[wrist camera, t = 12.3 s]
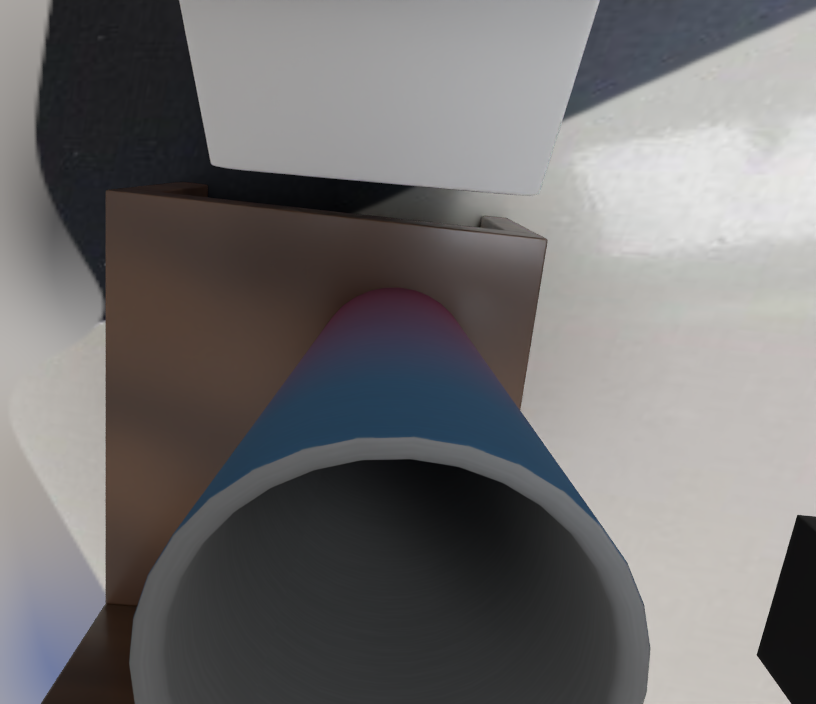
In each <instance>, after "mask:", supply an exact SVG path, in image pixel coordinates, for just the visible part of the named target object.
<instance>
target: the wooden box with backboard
mask: <svg viewBox="0 0 816 704" xmlns="http://www.w3.org/2000/svg"><path fill="white" fill-rule="evenodd" d="M546 247H547V239H546V238H544V237H542V236H540V235H538V234H536V233H534V232H532V231H530V230H528V229H526V228H525V227H523V226H521V225H519V224H517V223H515V222H513V221H512V220H510V219H508V218H500V217H491V216H482V219H481V226H480V228H478V227H469V226H460V225H451V224H442V223H433V222H424V221H415V220H406V219H397V218H388V217H379V216H370V215H361V214H352V213H343V212H334V211H325V210H316V209H307V208H298V207H289V206H280V205H271V204H262V203H253V202H244V201H235V200H226V199H217V198H208V185H206V184H197V183H188V182H175V183H166V184H157V185H148V186H140V187H131V188H120V189H112V190H106V604H105V606H104V607H103V608H102V610H101V612H100V613H99V615H98V616H97V618H96V619H95V621H94V623H93V624H92V626H91V627H90V629H89V630H88V632H87V633H86V635H85V636H84V638H83V639H82V641H81V643H80V644H79V645H78V647H77V649H76V650H75V652H74V653H73V655H72V656H71V658H70V659H69V661H68V663H67V664H66V666H65V667H64V669H63V670H62V672H61V674H60V675H59V677H58V678H57V679H56V681H55V683H54V684H53V686H52V687H51V689H50V690H49V692H48V693H47V695H46V696H45V698H44V700H43V701H42V703H41V704H135V701H134V694H133V687H132V680H131V673H130V665H129V658H130V647H131V637H132V626H133V617H134V614H135V611H136V608H137V605H138V602H139V599H140V597H141V594H142V591H143V588H144V585H145V582H146V579H147V576H148V574H149V572H150V570H151V569H152V567H153V566H154V564H155V562H156V561H157V559H158V558H159V556H160V554H161V553H162V551H163V550H164V548H165V546H166V545H167V543H168V542H169V540H170V538H171V537H172V535H173V534H174V532H175V531H176V529H177V528H178V527H179V525H180V524H181V523H182V521H183V520H184V519H185V517H186V516H187V515H188V513H189V512H190V510H191V509H192V508H193V506H194V505H195V504H196V502H197V501H198V500H199V498H200V497H201V495H202V494H203V493H204V491H205V490H206V489H207V487H208V486H209V485H210V483H211V482H212V480H213V479H214V478H215V476H216V475H217V474H218V472H219V471H220V470H221V468H222V467H223V465H224V464H225V463H226V461H227V460H228V459H229V457H230V456H231V455H232V453H233V452H234V450H235V449H236V448H237V446H238V445H239V444H240V442H241V441H242V440H243V438H244V437H245V435H246V434H247V433H248V431H249V430H250V429H251V427H252V426H253V425H254V423H255V422H256V420H257V419H258V418H259V416H260V415H261V414H262V412H263V411H264V410H265V408H266V407H267V405H268V404H269V403H270V401H271V400H272V399H273V397H274V396H275V395H276V393H277V392H278V390H279V389H280V388H281V386H282V385H283V384H284V382H285V381H286V380H287V378H288V377H289V375H290V374H291V373H292V371H293V370H294V369H295V367H296V366H297V365H298V363H299V362H300V360H301V359H302V358H303V356H304V355H305V354H306V352H307V351H308V350H309V348H310V347H311V345H312V344H313V343H314V341H315V340H316V339H317V337H318V336H319V335H320V333H321V332H322V330H323V329H324V328H325V326H326V325H327V324H328V322H329V321H330V320H331V318H332V317H333V316H334V315H335V314H336V313H337V311H338V310H339V309H340V308H341V307H342V306H343V305H345V304H346V303H348V302H349V301H350V300H352V299H353V298H355V297H357V296H359V295H361V294H364V293H366V292H368V291H372V290H376V289H381V288H405V289H410V290H415V291H418V292H420V293H423V294H425V295H428V296H430V297H431V298H433V299H434V300H436V301H437V302H439V303H441V304H442V305H443V306H444V307H445V308H446V309H447V310H448V311H449V312H450V313H451V314H452V315H453V317H454V318H455V319H456V321H457V322H458V324H459V325H460V327H461V328H462V329H463V331H464V332H465V334H466V335H467V336H468V338H469V339H470V341H471V342H472V343H473V345H474V346H475V348H476V349H477V351H478V352H479V353H480V355H481V356H482V358H483V359H484V360H485V362H486V363H487V365H488V366H489V367H490V369H491V370H492V372H493V373H494V375H495V376H496V377H497V379H498V380H499V382H500V383H501V384H502V386H503V387H504V389H505V390H506V391H507V393H508V394H509V396H510V397H511V398H512V400H513V401H514V403H515V404H516V406H517V407H518V408H519V410H520V408H521V402H522V396H523V389H524V383H525V377H526V371H527V365H528V358H529V352H530V346H531V340H532V334H533V327H534V321H535V315H536V309H537V303H538V297H539V290H540V284H541V278H542V272H543V266H544V259H545V253H546Z"/></svg>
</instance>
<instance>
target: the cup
mask: <svg viewBox="0 0 816 704" xmlns="http://www.w3.org/2000/svg"><path fill="white" fill-rule="evenodd" d="M649 658H650V643H649V636H648V629H647V623H646V616H645V609H644V604H643V601H642V599H641V596H640V594H639V591H638V589H637V586H636V584H635V581H634V579H633V576H632V574H631V571H630V569H629V566H628V563H627V562H626V560H625V559H624V557H623V556H622V555H621V553H620V552H619V550H618V549H617V547H616V546H615V544H614V543H613V541H612V540H611V539H610V537H609V536H608V534H607V533H606V531H605V530H604V528H603V527H602V525H601V524H600V523H599V521H598V520H597V518H596V517H595V516H594V514H593V513H592V511H591V510H590V509H589V507H588V506H587V504H586V503H585V501H584V500H583V499H582V497H581V496H580V494H579V493H578V492H577V490H576V489H575V487H574V486H573V485H572V483H571V482H570V480H569V479H568V477H567V476H566V475H565V473H564V472H563V470H562V469H561V468H560V466H559V465H558V463H557V462H556V461H555V459H554V458H553V456H552V455H551V454H550V452H549V451H548V449H547V448H546V446H545V445H544V444H543V442H542V441H541V439H540V438H539V437H538V435H537V434H536V432H535V431H534V430H533V428H532V427H531V425H530V424H529V422H528V421H527V420H526V418H525V417H524V415H523V414H522V413H521V411H520V410H519V408H518V407H517V406H516V404H515V403H514V401H513V400H512V398H511V397H510V396H509V394H508V393H507V391H506V390H505V389H504V387H503V386H502V384H501V383H500V382H499V380H498V379H497V377H496V376H495V375H494V373H493V372H492V370H491V369H490V367H489V366H488V365H487V363H486V362H485V360H484V359H483V358H482V356H481V355H480V353H479V352H478V351H477V349H476V348H475V346H474V345H473V343H472V342H471V341H470V339H469V338H468V336H467V335H466V334H465V332H464V331H463V329H462V328H461V327H460V325H459V324H458V322H457V321H456V319H455V318H454V317H453V315H452V314H451V313H450V312H449V311H448V310H447V309H446V308H445V307H444V306H443V305H442V304H441V303H439V302H437V301H436V300H434V299H433V298H431V297H430V296H428V295H425V294H423V293H420V292H418V291H415V290H410V289H405V288H381V289H376V290H372V291H368V292H366V293H364V294H361V295H359V296H357V297H355V298H353V299H352V300H350V301H349V302H348V303H346V304H345V305H343V306H342V307H341V308H340V309H339V310H338V311H337V313H336V314H335V315H334V316H333V317H332V318H331V320H330V321H329V322H328V324H327V325H326V326H325V328H324V329H323V330H322V332H321V333H320V335H319V336H318V337H317V339H316V340H315V341H314V343H313V344H312V345H311V347H310V348H309V350H308V351H307V352H306V354H305V355H304V356H303V358H302V359H301V360H300V362H299V363H298V365H297V366H296V367H295V369H294V370H293V371H292V373H291V374H290V375H289V377H288V378H287V380H286V381H285V382H284V384H283V385H282V386H281V388H280V389H279V390H278V392H277V393H276V395H275V396H274V397H273V399H272V400H271V401H270V403H269V404H268V405H267V407H266V408H265V410H264V411H263V412H262V414H261V415H260V416H259V418H258V419H257V420H256V422H255V423H254V425H253V426H252V427H251V429H250V430H249V431H248V433H247V434H246V435H245V437H244V438H243V440H242V441H241V442H240V444H239V445H238V446H237V448H236V449H235V450H234V452H233V453H232V455H231V456H230V457H229V459H228V460H227V461H226V463H225V464H224V465H223V467H222V468H221V470H220V471H219V472H218V474H217V475H216V476H215V478H214V479H213V480H212V482H211V483H210V485H209V486H208V487H207V489H206V490H205V491H204V493H203V494H202V495H201V497H200V498H199V500H198V501H197V502H196V504H195V505H194V506H193V508H192V509H191V510H190V512H189V513H188V515H187V516H186V517H185V519H184V520H183V521H182V523H181V524H180V525H179V527H178V528H177V529H176V531H175V532H174V534H173V535H172V537H171V538H170V540H169V542H168V543H167V545H166V546H165V548H164V550H163V551H162V553H161V554H160V556H159V558H158V559H157V561H156V562H155V564H154V566H153V567H152V569H151V570H150V572H149V574H148V576H147V579H146V582H145V585H144V588H143V591H142V594H141V597H140V599H139V602H138V605H137V608H136V611H135V614H134V617H133V626H132V637H131V647H130V658H129V665H130V673H131V680H132V687H133V694H134V701H135V704H643V702H644V699H645V696H646V692H647V681H648V669H649Z"/></svg>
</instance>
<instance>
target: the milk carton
mask: <svg viewBox="0 0 816 704" xmlns="http://www.w3.org/2000/svg"><path fill="white" fill-rule="evenodd" d="M179 1H180V7H181V12H182V17H183V22H184V27H185V32H186V37H187V43H188V48H189V53H190V58H191V63H192V68H193V73H194V79H195V84H196V89H197V94H198V99H199V104H200V109H201V115H202V120H203V125H204V130H205V135H206V140H207V146H208V151H209V156H210V161H211V164H212V165H214V166H217V167H222V168H228V169H237V170H246V171H257V172H267V173H278V174H289V175H300V176H311V177H322V178H333V179H344V180H355V181H366V182H377V183H388V184H399V185H410V186H421V187H432V188H443V189H454V190H465V191H476V192H487V193H498V194H510V195H538V194H539V193H540V190H541V187H542V184H543V180H544V177H545V174H546V171H547V168H548V164H549V161H550V158H551V155H552V151H553V148H554V145H555V142H556V139H557V135H558V132H559V129H560V126H561V123H562V119H563V116H564V113H565V110H566V107H567V103H568V100H569V97H570V94H571V91H572V87H573V84H574V81H575V78H576V75H577V71H578V68H579V65H580V62H581V58H582V55H583V52H584V49H585V46H586V42H587V39H588V36H589V33H590V30H591V26H592V23H593V20H594V17H595V14H596V10H597V7H598V4H599V1H600V0H179Z"/></svg>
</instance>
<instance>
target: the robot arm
mask: <svg viewBox="0 0 816 704" xmlns="http://www.w3.org/2000/svg"><path fill="white" fill-rule="evenodd" d="M757 656H758V657H759V659H760V660H761V662H762V663H763V664H764V666H765V667H766V669H767V670H768V671H769V673H770V674H771V676H772V677H773V678H774V680H775V681H776V683H777V684H778V685H779V687H780V688H781V690H782V691H783V693H784V694H785V695H786V697H787V698H788V700H789V701H790V702H791V704H816V517H813V516H802V515H797V518H796V522H795V525H794V529H793V532H792V535H791V539H790V542H789V546H788V549H787V553H786V556H785V560H784V563H783V566H782V570H781V573H780V577H779V580H778V584H777V587H776V591H775V594H774V597H773V601H772V604H771V608H770V611H769V615H768V618H767V622H766V625H765V628H764V632H763V635H762V639H761V642H760V646H759V649H758V653H757Z"/></svg>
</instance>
